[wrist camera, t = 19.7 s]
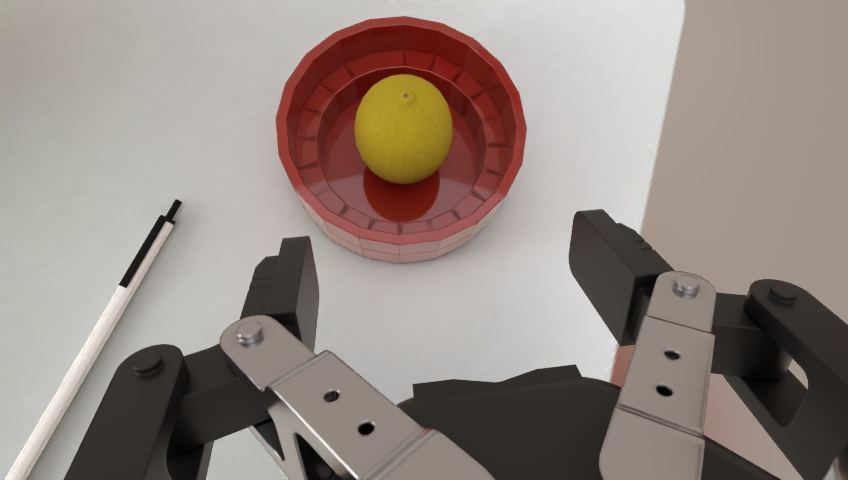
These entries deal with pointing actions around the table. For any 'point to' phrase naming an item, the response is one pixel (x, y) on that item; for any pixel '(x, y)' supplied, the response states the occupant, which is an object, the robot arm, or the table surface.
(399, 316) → the table surface
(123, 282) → the pen
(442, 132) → the lemon
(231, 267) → the table surface
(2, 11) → the table surface
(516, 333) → the table surface
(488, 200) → the bowl
